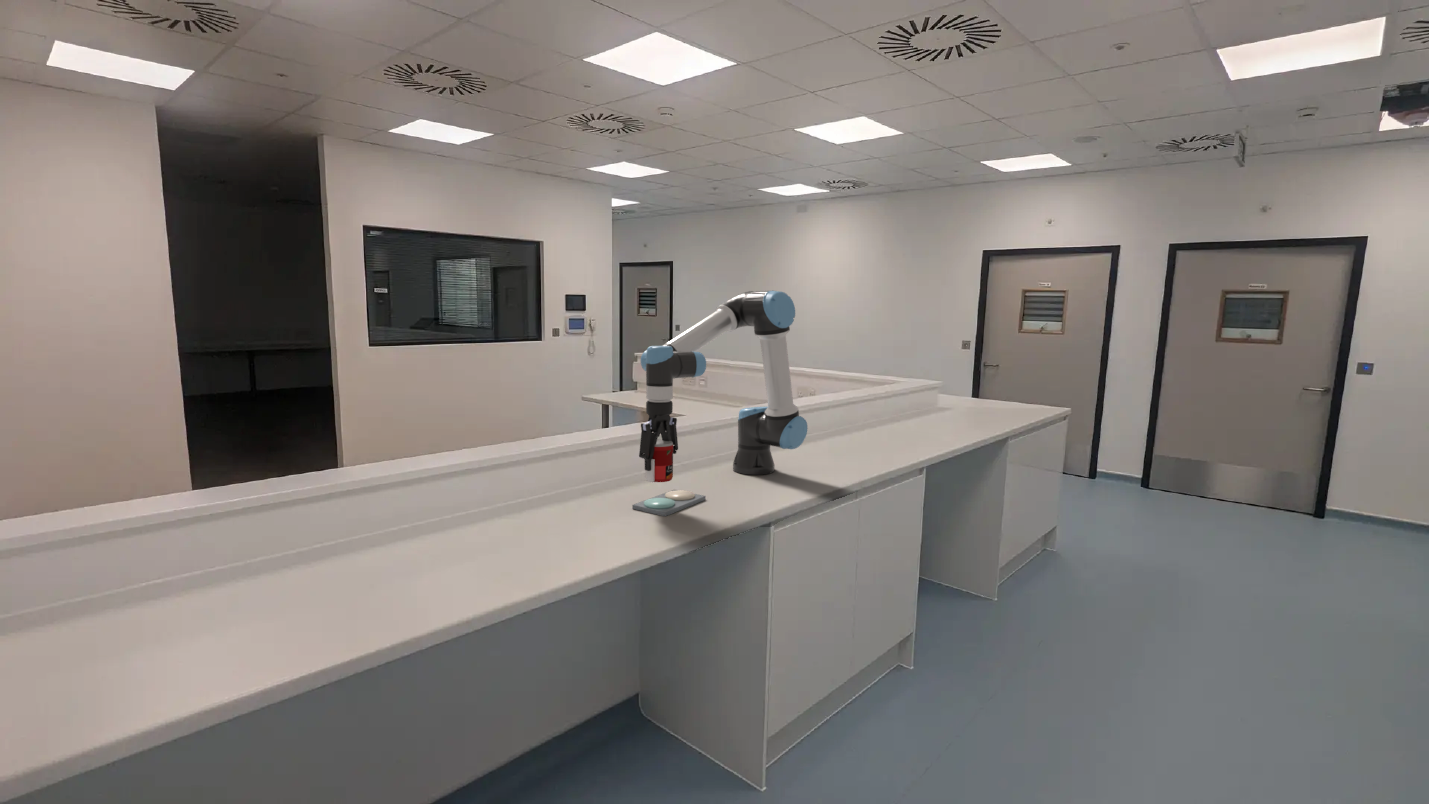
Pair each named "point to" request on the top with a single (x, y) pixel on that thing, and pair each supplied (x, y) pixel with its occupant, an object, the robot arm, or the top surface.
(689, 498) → the board
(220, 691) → the top surface
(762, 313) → the robot arm
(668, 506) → the pad
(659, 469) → the canned food
